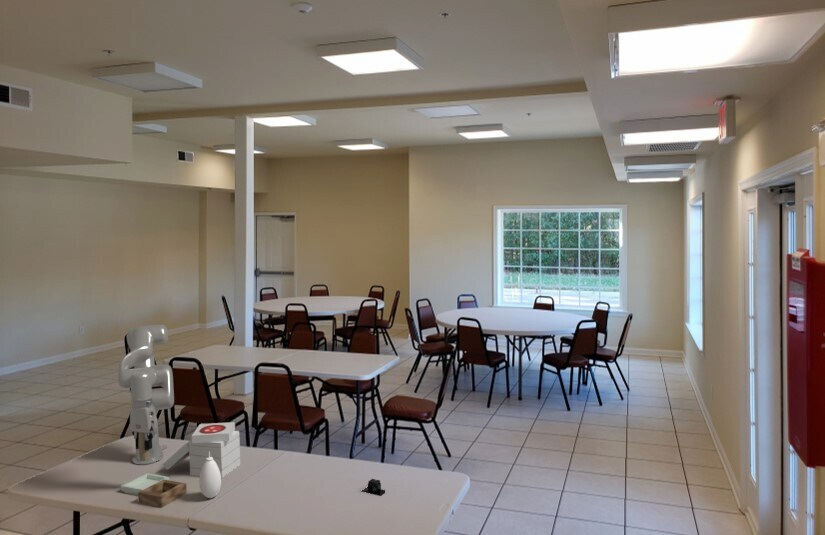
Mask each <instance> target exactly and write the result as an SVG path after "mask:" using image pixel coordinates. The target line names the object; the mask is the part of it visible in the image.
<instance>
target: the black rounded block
mask: <svg viewBox="0 0 825 535" xmlns="http://www.w3.org/2000/svg"><path fill="white" fill-rule="evenodd" d="M367 486H368V487H367ZM367 486H366V487H367V488H366V487H364V488H365V490H363V489H362V491H361V490H360V492H362V493H365V492H366V494H369V493H370V494H369V495H374V496H378V497H381V496H383V495H385V494H386V493H385V490H386V489H384V490H383V488H382V483H381V480H379V479H375V478H371V479H370V480H368V482H367Z"/></svg>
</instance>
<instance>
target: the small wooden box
mask: <svg viewBox="0 0 825 535" xmlns="http://www.w3.org/2000/svg"><path fill="white" fill-rule="evenodd" d="M187 491H188V490H187V483H184V482H179V481H175V480H164V479H163V480H162V481H160V482H158V483H156V484H154V485H152V486H150V487H148V488H146V489H144V490H142V491H140V492H138V495H137V496H138V500H137V501H138V503H139V504H144V505H148V506H153V507H156V508H157V507H158V508H164V507H166V506H167V505H169V504H170V503H173V502H174V501H177V500H178V499H180V498H182V497H183V496H185V495H186V494H187Z"/></svg>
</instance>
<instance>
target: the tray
mask: <svg viewBox="0 0 825 535" xmlns="http://www.w3.org/2000/svg"><path fill="white" fill-rule="evenodd" d="M163 479H164V480H170V477H169V476H164V475H160V474H153V473H147V472H146V473H145V474H142V475H141V476H138V477H136V478H134V479H132V480H130V481H128V482H126V483H124V484H121V485H120V490H121V493H123V494H124V493H125V494H130V495H133V496H138V492H140V491H142V490H144V489H146V488H148V487H150V486H152V485H154V484H156V483H158V482H160V481H162V480H163ZM170 481H171V480H170Z"/></svg>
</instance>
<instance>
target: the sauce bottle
mask: <svg viewBox="0 0 825 535" xmlns="http://www.w3.org/2000/svg"><path fill="white" fill-rule="evenodd" d="M198 482H199V489H200V492H201V493H202V495H203V496H204V497H206V498H208V499H212V498H214V497H216V495H219V492H220V490H221V487H222V478H221V474H220V470H219V468H218V466H217V464H216V462H215V461H214V460H213V457H210V452H209V457H208V458H206V461H205V463H204V464H203V466H202V469H201V473H200V476H199V481H198Z"/></svg>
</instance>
